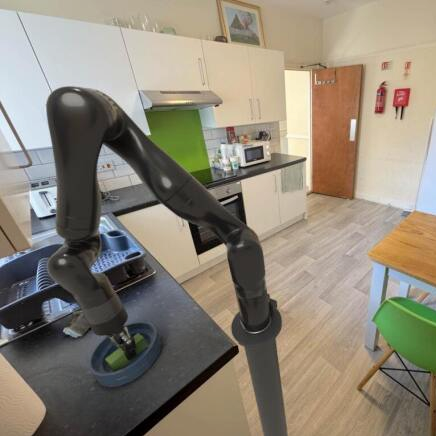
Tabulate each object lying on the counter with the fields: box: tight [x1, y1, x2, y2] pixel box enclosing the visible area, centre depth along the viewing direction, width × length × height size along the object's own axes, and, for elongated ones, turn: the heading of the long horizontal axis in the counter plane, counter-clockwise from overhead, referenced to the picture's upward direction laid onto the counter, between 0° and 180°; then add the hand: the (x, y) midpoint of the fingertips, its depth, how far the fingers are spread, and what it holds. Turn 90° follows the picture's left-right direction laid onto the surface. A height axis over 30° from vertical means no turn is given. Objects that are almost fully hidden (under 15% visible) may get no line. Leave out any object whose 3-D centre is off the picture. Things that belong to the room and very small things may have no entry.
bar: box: [105, 333, 148, 372], centre depth 68 cm, size 9×3×4 cm, turn 149°
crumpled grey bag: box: [62, 309, 91, 339], centre depth 78 cm, size 10×7×12 cm
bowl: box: [87, 320, 162, 388], centre depth 68 cm, size 16×16×6 cm
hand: (128, 354), depth 68 cm, fingers closed on bar, 3 cm apart
